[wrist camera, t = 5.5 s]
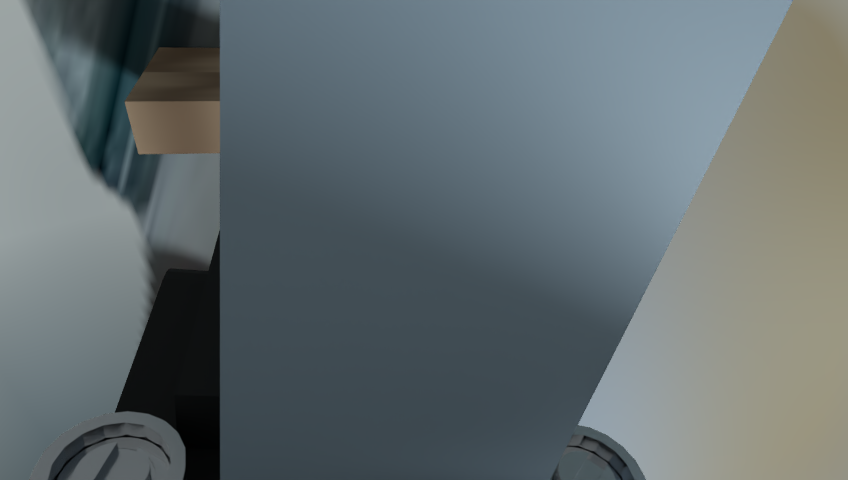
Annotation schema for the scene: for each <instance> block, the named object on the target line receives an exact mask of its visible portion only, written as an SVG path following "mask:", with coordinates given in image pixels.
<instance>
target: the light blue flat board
mask: <svg viewBox="0 0 848 480" xmlns="http://www.w3.org/2000/svg"><path fill="white" fill-rule="evenodd" d="M792 1H793V0H220V480H550V478H551V476H552V474H553V472H554V470H555V468H556V467H557V465H558V463H559V461H560V459H561V457H562V455H563V453H564V451H565V449H566V447H567V445H568V443H569V441H570V439H571V437H572V435H573V433H574V431H575V429H576V427H577V425H578V423H579V421H580V419H581V417H582V415H583V413H584V411H585V409H586V407H587V405H588V403H589V401H590V399H591V397H592V395H593V393H594V392H595V390H596V387H597V386H598V383H599V382H600V380H601V378H602V376H603V374H604V372H605V370H606V368H607V365H608V364H609V362H610V360H611V358H612V356H613V354H614V352H615V350H616V348H617V346H618V344H619V342H620V340H621V338H622V336H623V334H624V332H625V330H626V328H627V326H628V324H629V323H630V321H631V319H632V316H633V315H634V312H635V311H636V309H637V307H638V305H639V303H640V301H641V298H642V297H643V295H644V293H645V291H646V289H647V287H648V285H649V283H650V281H651V279H652V277H653V275H654V273H655V271H656V269H657V267H658V265H659V263H660V261H661V259H662V257H663V255H664V253H665V251H666V250H667V247H668V246H669V243H670V242H671V240H672V238H673V235H674V234H675V232H676V230H677V228H678V226H679V224H680V222H681V220H682V218H683V216H684V214H685V212H686V210H687V208H688V206H689V204H690V202H691V200H692V198H693V196H694V194H695V192H696V190H697V188H698V186H699V184H700V182H701V180H702V178H703V176H704V175H705V173H706V171H707V169H708V167H709V165H710V163H711V161H712V159H713V157H714V155H715V153H716V151H717V149H718V147H719V145H720V143H721V141H722V139H723V137H724V135H725V133H726V131H727V129H728V127H729V125H730V123H731V121H732V119H733V117H734V115H735V113H736V111H737V109H738V107H739V106H740V104H741V102H742V100H743V98H744V95H745V94H746V92H747V90H748V88H749V86H750V84H751V82H752V80H753V78H754V76H755V74H756V72H757V70H758V68H759V66H760V64H761V62H762V60H763V58H764V56H765V54H766V52H767V50H768V48H769V46H770V44H771V42H772V40H773V38H774V36H775V35H776V32H777V31H778V29H779V26H780V25H781V22H782V21H783V19H784V17H785V15H786V13H787V11H788V9H789V7H790V5H791V3H792Z"/></svg>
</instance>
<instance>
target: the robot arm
mask: <svg viewBox="0 0 848 480" xmlns="http://www.w3.org/2000/svg"><path fill="white" fill-rule="evenodd" d="M29 480H220V231H219V235H218V238H217V242H216V245H215V249H214V253H213V256H212V260H211V264H210V267H209V271H197V270H183V269H169V270H168V271H167V272H166V274H165V276H164V279H163V281H162V284H161V287H160V290H159V292H158V295H157V298H156V301H155V303H154V306H153V309H152V312H151V314H150V317H149V320H148V323H147V325H146V328H145V331H144V334H143V336H142V339H141V342H140V345H139V347H138V350H137V353H136V356H135V358H134V361H133V364H132V367H131V369H130V372H129V375H128V378H127V380H126V383H125V386H124V389H123V391H122V394H121V397H120V400H119V402H118V405H117V408H116V411H115V413H109V414H103V415H101V416H98V417H95V418H92V419H89V420H86V421H83V422H81V423H79V424H78V425H76V426H74V427H73V428H71V429H69V430H68V431H66V432H64V433H63V434H61V435H60V436H59V437H58V438H57V439H56V440H55V441H54V442H53V443H52V444H51V445H50V446H49V447H48V448H47V449H46V450H45V451H44V452H43V454H42V456H41V457H40V459H39V461H38V463H37V464H36V466H35V467H34V469H33V471H32V474H31V476H30V479H29ZM550 480H646V479H645V476H644V475H643V473H642V471H641V469H640V467H639V466H638V464H637V462H636V460H635V459H634V458H633V457H632V456H631V455H630V454H629V453H628V452H627V451H626V450H625V448H624V447H623V446H621V445H620V444H618V443H617V442H616V441H614V440H613V439H612V438H610V437H609V436H607V435H606V434H603V433H601V432H599V431H597V430H594V429H592V428H590V427H584V426H579V425H577V427H576V429H575V431H574V433H573V435H572V437H571V439H570V441H569V443H568V445H567V447H566V449H565V451H564V453H563V455H562V457H561V459H560V461H559V463H558V465H557V467H556V468H555V470H554V472H553V474H552V476H551V478H550Z"/></svg>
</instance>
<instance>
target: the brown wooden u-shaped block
mask: <svg viewBox="0 0 848 480" xmlns="http://www.w3.org/2000/svg"><path fill="white" fill-rule="evenodd" d="M125 105H126V108H127V112H128V116H129V120H130V123H131V127H132V131H133V135H134V138H135V142H136V146H137V150H138V153H139V154H188V153H220V48H168V47H159V48H158V50H157V51H156V53H155V55H154V56H153V58H152V59H151V61H150V62H149V64H148V66H147V67H146V69H145V70H144V72H143V73H142V75H141V77H140V78H139V80H138V81H137V83H136V84H135V86H134V88H133V89H132V91H131V92H130V94H129V96H128V97H127V99H126V100H125Z"/></svg>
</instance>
